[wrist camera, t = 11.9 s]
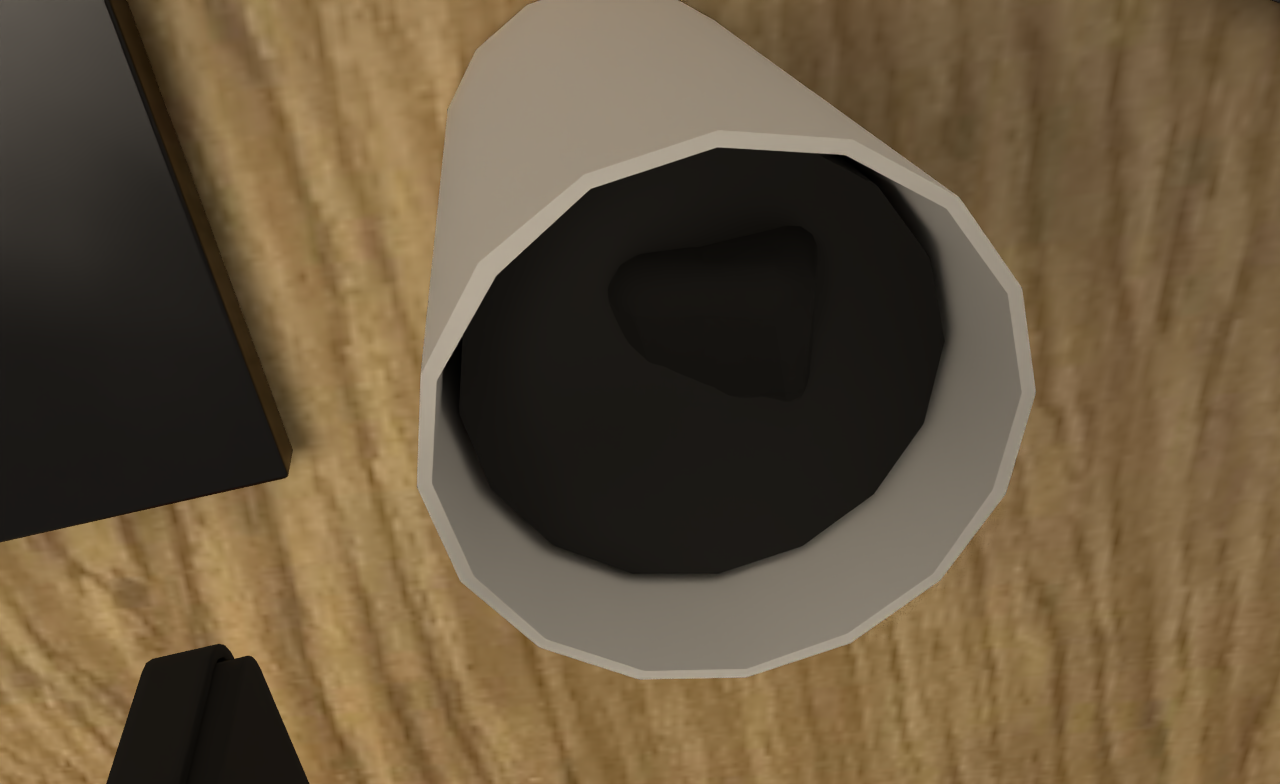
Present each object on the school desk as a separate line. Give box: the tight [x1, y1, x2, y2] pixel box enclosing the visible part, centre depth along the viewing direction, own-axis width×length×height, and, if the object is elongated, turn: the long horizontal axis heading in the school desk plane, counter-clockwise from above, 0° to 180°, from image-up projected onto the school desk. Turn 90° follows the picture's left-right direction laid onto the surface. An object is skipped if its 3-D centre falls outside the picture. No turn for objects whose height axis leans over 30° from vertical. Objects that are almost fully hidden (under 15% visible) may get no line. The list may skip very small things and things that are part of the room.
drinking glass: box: [417, 0, 1036, 679], centre depth 17 cm, size 7×7×10 cm
